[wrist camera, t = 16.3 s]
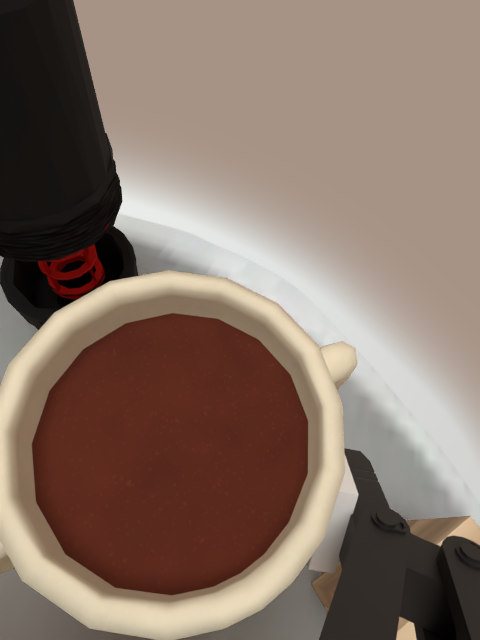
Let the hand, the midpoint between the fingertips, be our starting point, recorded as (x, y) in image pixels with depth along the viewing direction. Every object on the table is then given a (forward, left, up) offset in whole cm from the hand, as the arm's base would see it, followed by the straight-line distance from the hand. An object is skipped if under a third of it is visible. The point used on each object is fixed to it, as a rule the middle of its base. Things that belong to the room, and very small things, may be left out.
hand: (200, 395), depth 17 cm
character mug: (+3, -2, -4) cm, 5 cm away
